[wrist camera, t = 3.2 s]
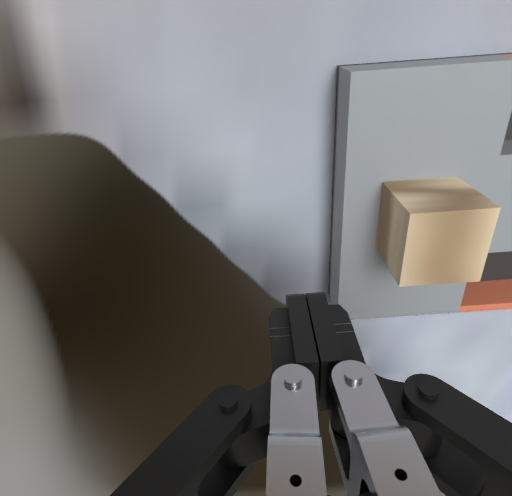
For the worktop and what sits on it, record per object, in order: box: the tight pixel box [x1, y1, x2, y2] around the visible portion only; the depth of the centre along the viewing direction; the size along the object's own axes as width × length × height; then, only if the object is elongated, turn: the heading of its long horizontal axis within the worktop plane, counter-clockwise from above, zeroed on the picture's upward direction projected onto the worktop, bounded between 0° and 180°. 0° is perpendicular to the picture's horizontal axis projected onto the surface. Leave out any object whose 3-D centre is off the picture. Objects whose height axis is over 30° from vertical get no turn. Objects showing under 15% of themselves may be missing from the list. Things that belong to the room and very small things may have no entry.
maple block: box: [375, 176, 501, 287], centre depth 20 cm, size 4×4×4 cm
